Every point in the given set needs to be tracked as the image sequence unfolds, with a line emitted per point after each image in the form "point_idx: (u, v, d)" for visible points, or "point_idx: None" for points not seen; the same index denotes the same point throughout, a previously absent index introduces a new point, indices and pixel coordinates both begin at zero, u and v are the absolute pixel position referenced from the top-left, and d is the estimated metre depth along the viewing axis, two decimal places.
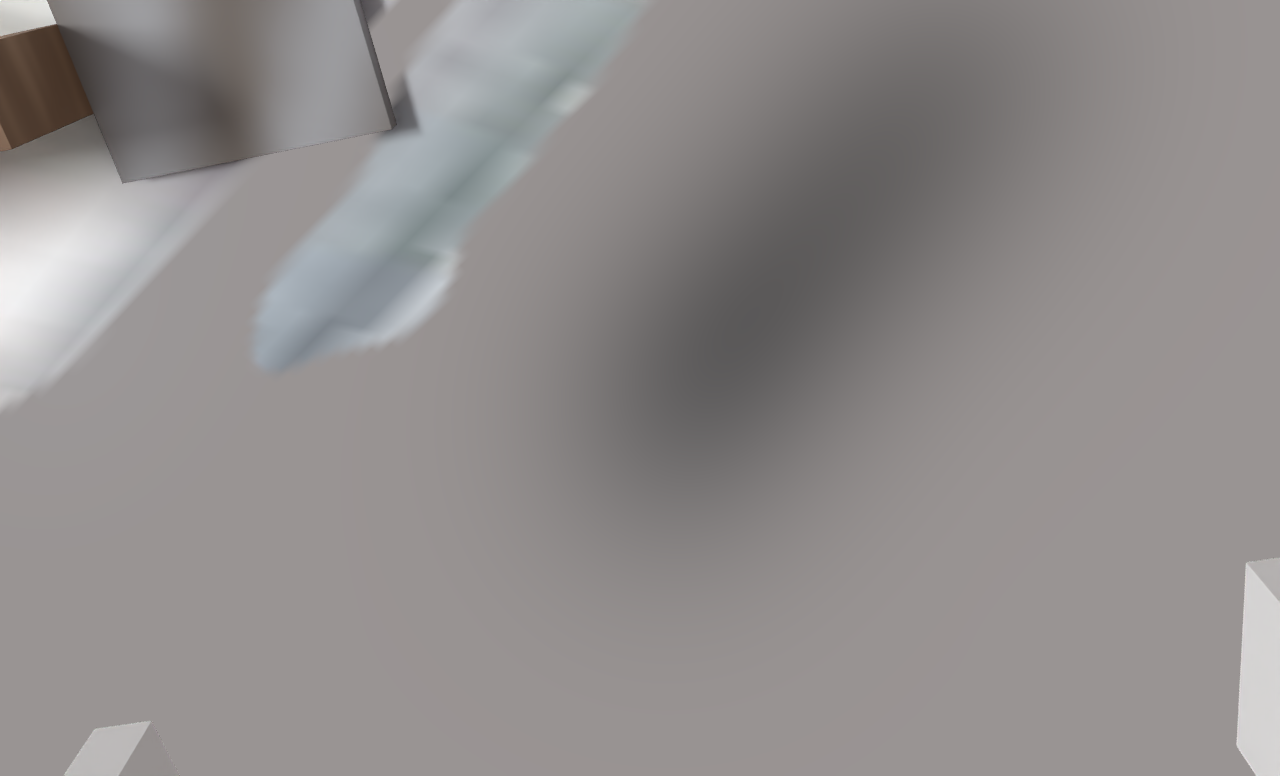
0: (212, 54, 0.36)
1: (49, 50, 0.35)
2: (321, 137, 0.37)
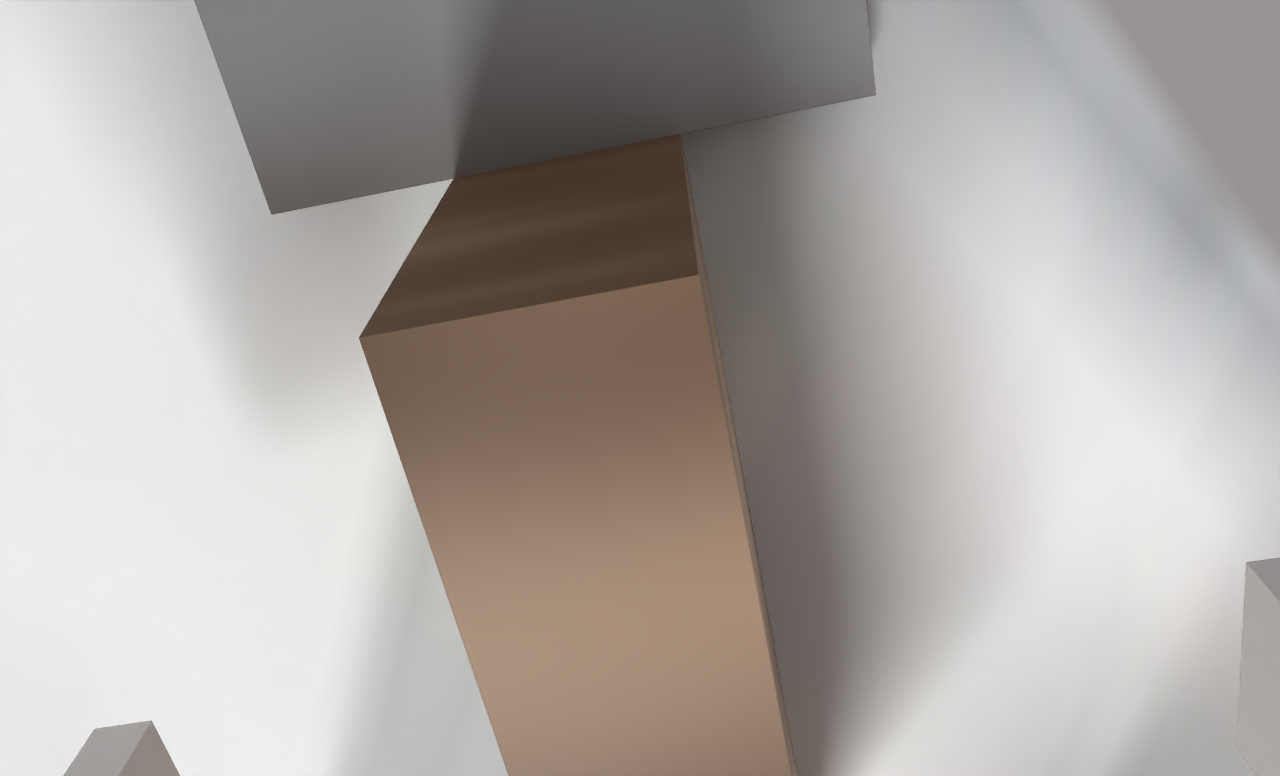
0: None
1: (497, 190, 0.13)
2: None
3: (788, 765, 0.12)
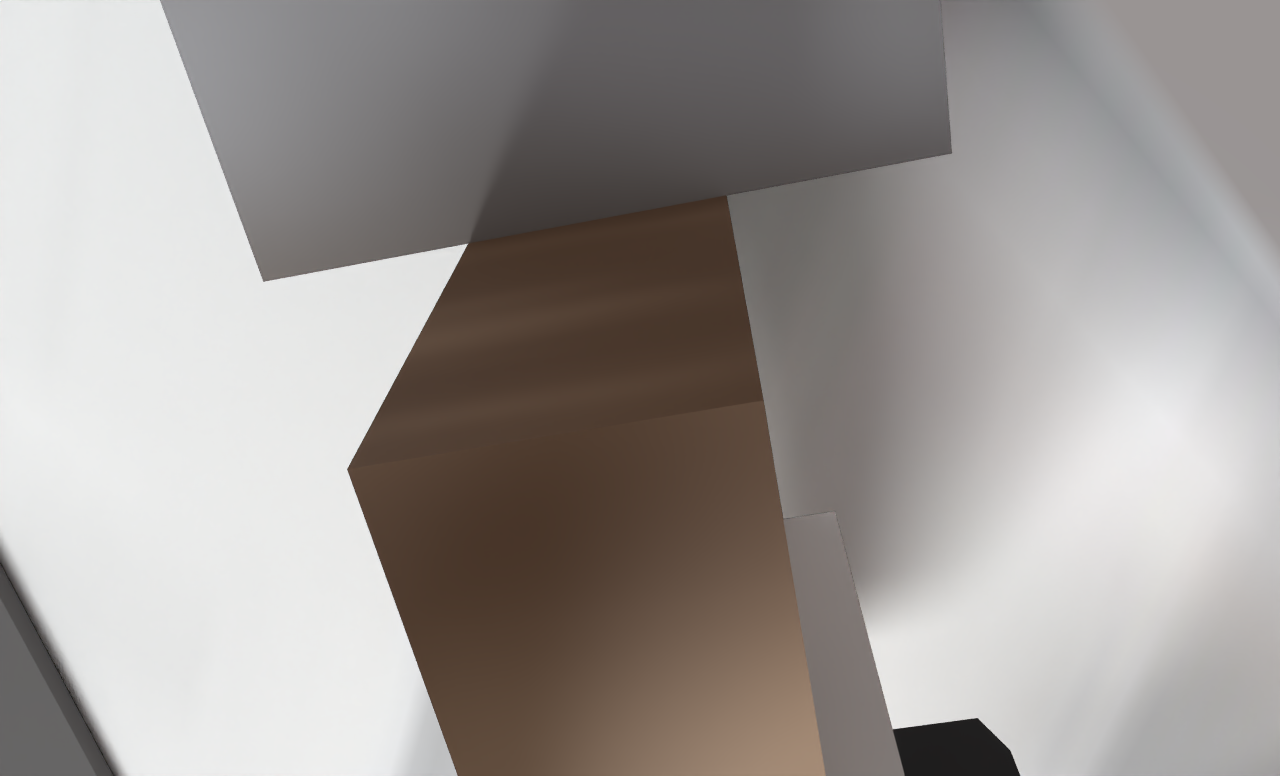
0: None
1: (516, 262, 0.11)
2: None
3: None
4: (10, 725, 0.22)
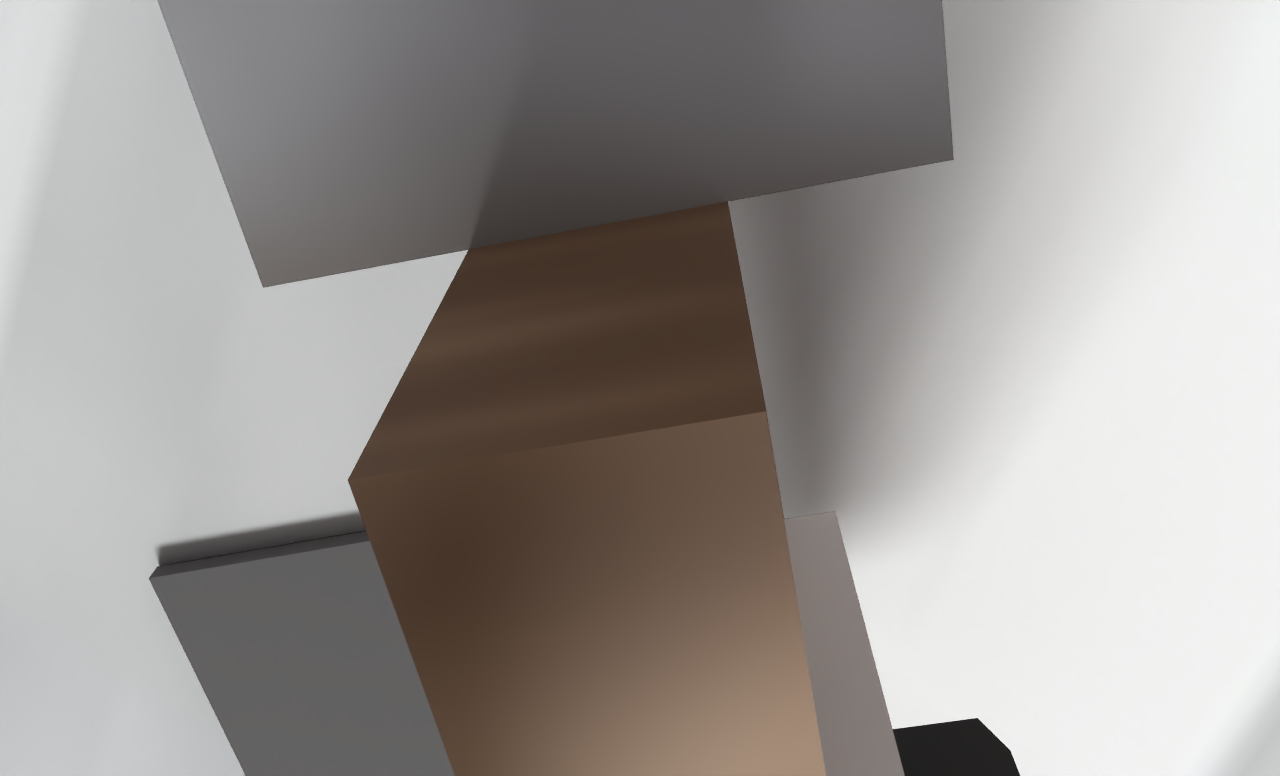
0: None
1: (518, 269, 0.11)
2: None
3: None
4: None
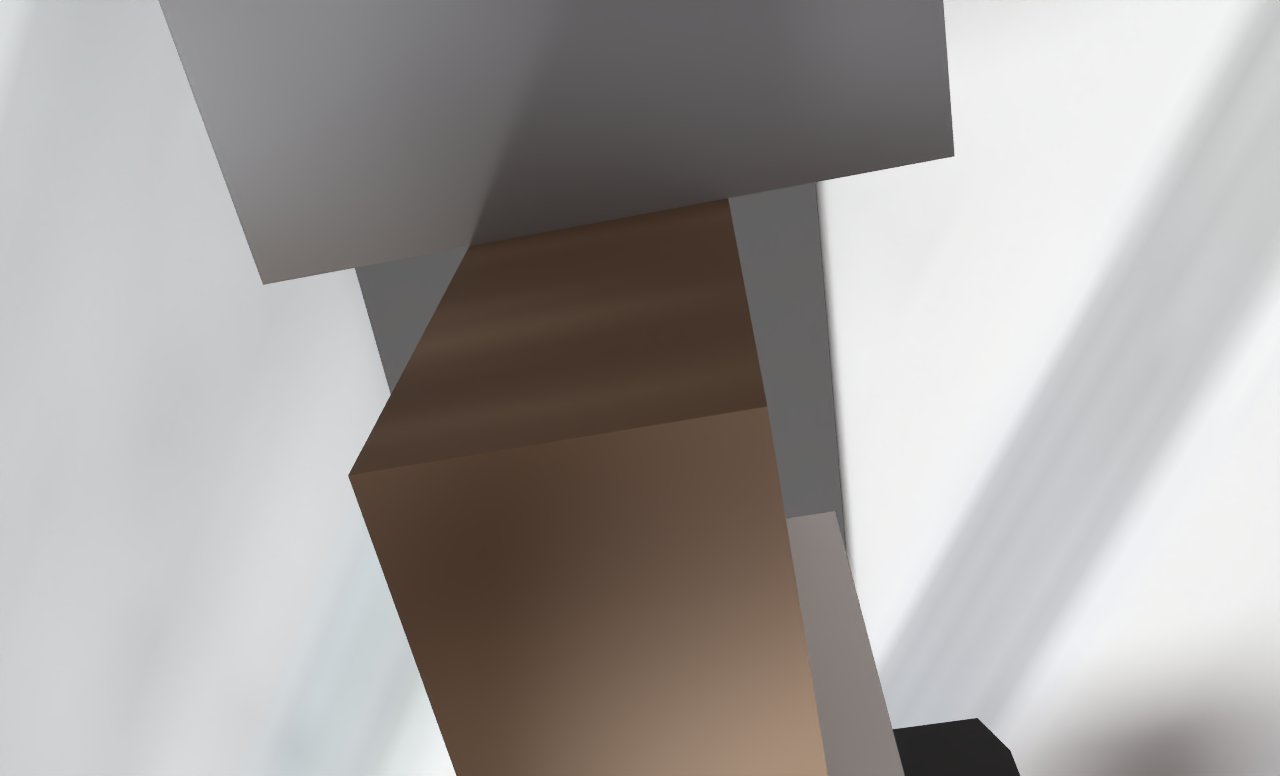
0: None
1: (518, 265, 0.11)
2: None
3: None
4: (776, 293, 0.28)
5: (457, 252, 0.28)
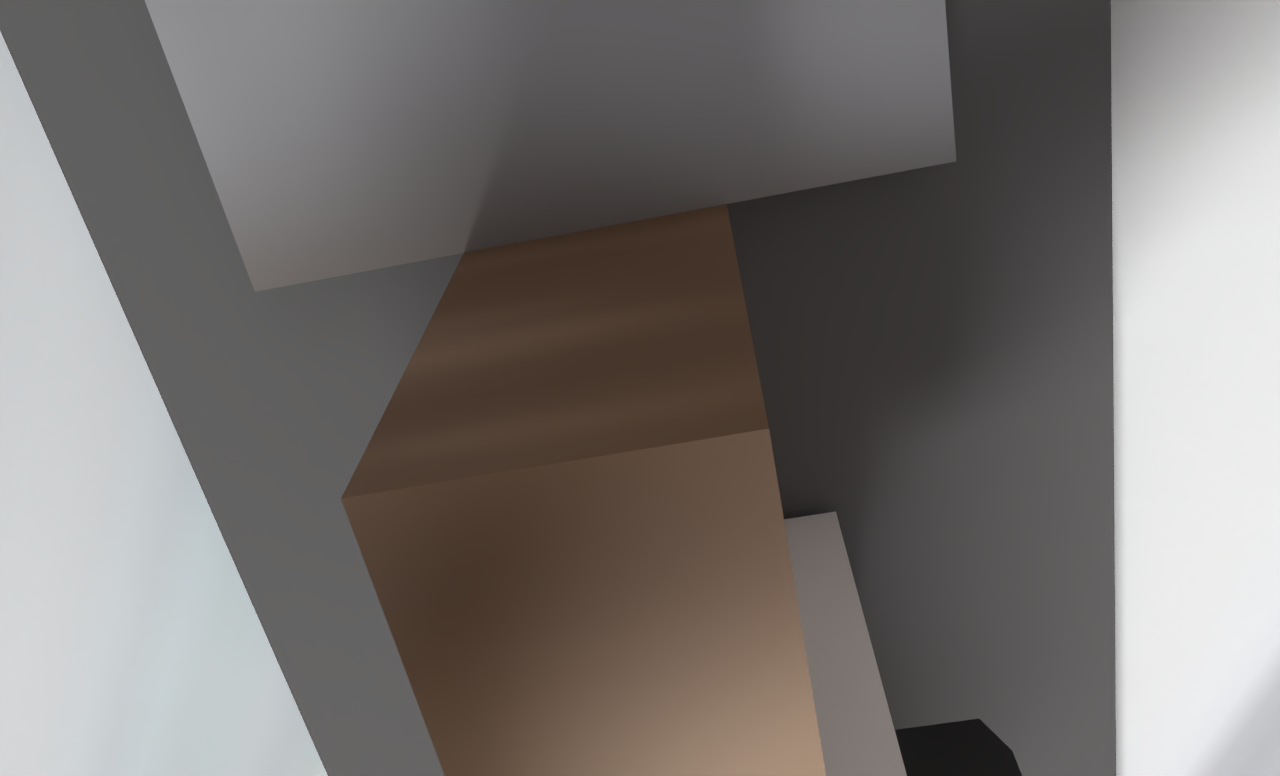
0: None
1: (513, 273, 0.11)
2: None
3: None
4: (995, 46, 0.12)
5: None
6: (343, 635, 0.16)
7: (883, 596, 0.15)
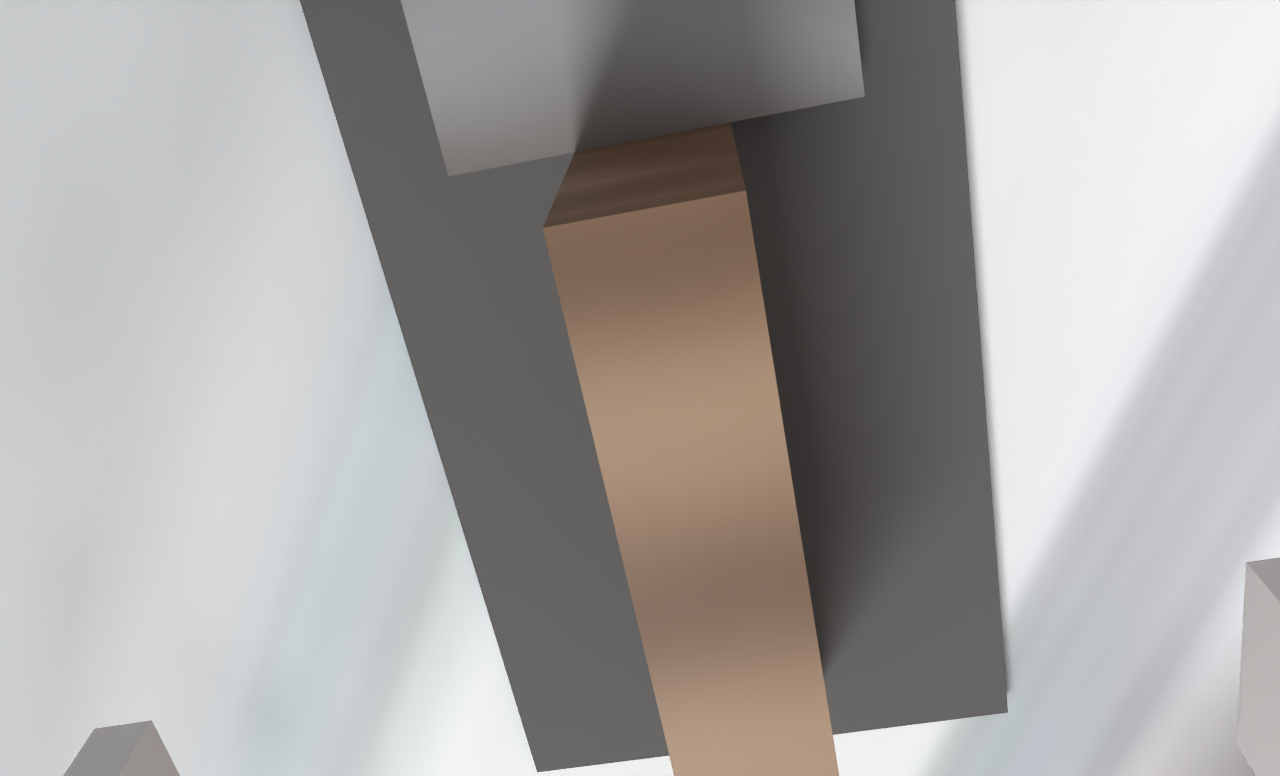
0: None
1: (607, 157, 0.19)
2: None
3: (798, 527, 0.18)
4: (889, 31, 0.20)
5: None
6: (479, 420, 0.24)
7: (833, 392, 0.23)
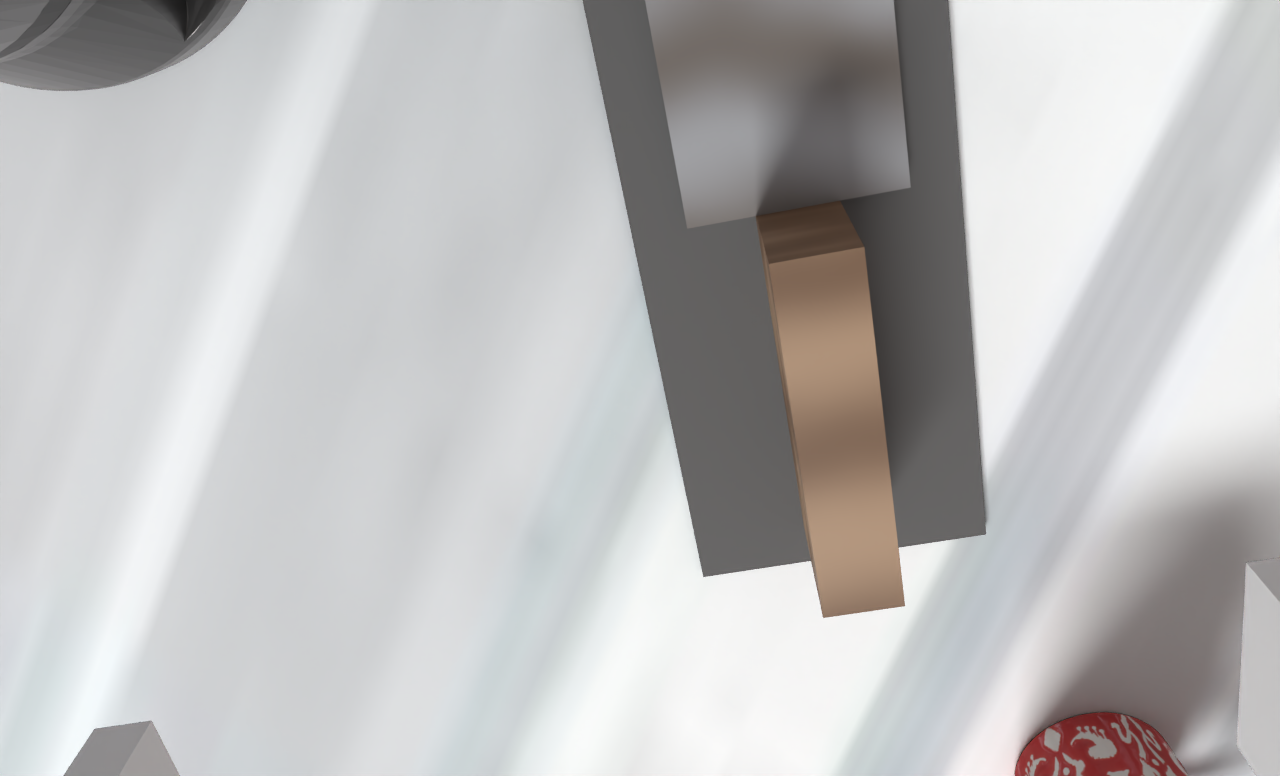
0: (791, 70, 0.36)
1: (778, 221, 0.38)
2: None
3: (881, 407, 0.36)
4: (923, 152, 0.38)
5: None
6: (687, 361, 0.42)
7: (888, 344, 0.42)
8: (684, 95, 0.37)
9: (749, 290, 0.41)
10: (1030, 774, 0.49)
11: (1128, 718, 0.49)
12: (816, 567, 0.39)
